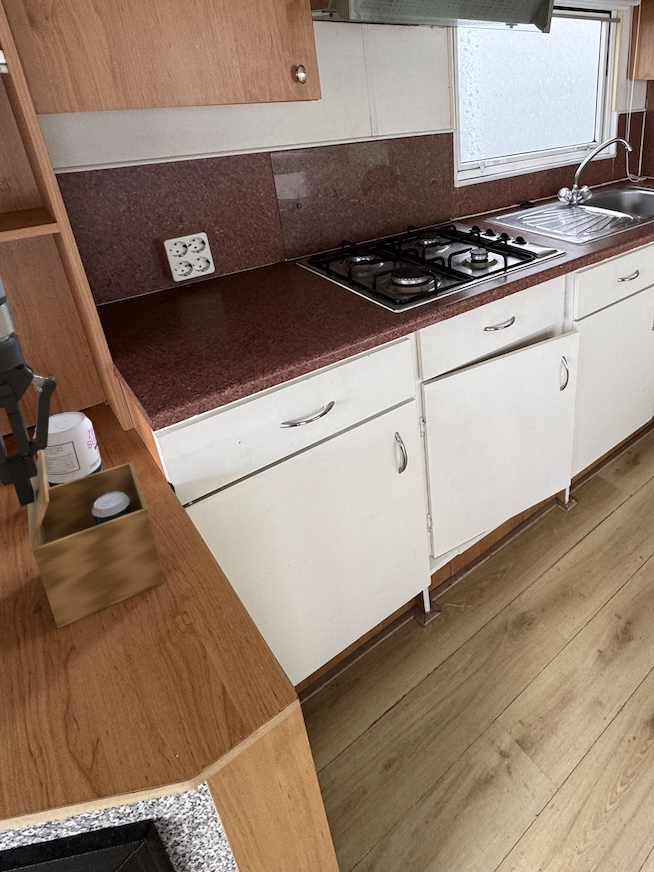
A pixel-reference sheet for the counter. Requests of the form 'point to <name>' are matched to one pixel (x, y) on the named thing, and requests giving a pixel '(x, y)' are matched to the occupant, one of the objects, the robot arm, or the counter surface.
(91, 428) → the supplement can
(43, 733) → the counter surface
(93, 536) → the open box
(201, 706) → the counter surface
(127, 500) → the beer can
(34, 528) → the flap
